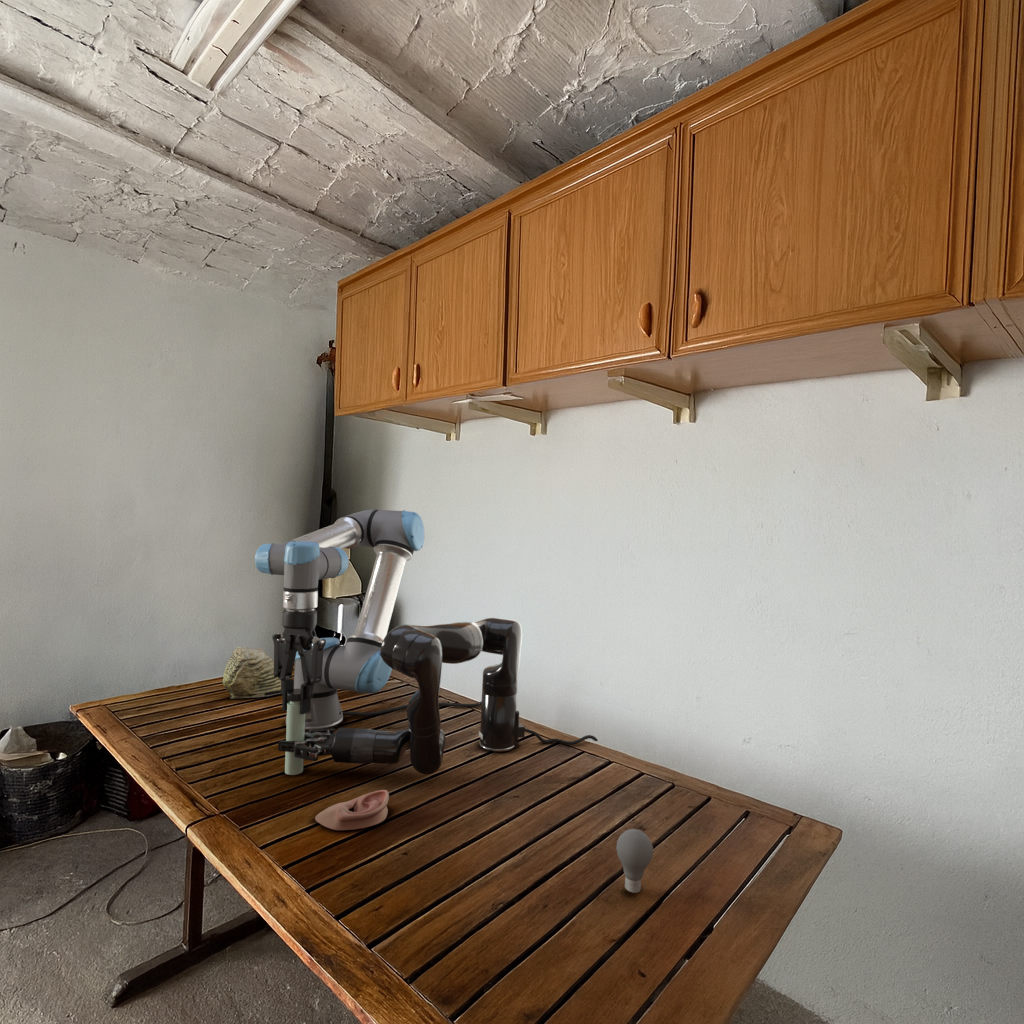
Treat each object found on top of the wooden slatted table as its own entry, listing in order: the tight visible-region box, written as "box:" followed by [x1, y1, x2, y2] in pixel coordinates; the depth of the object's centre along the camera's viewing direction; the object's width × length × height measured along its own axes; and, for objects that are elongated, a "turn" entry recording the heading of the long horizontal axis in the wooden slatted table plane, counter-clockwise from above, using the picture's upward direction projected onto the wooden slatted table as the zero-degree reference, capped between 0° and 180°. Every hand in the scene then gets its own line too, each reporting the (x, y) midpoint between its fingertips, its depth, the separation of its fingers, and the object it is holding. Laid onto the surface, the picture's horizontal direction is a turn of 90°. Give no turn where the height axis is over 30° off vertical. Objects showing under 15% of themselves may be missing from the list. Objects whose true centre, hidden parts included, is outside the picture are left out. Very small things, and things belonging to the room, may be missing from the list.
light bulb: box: [615, 828, 654, 894], centre depth 106 cm, size 6×6×10 cm
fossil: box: [222, 646, 281, 699], centre depth 198 cm, size 9×18×15 cm, turn 132°
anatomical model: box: [314, 789, 390, 831], centre depth 126 cm, size 13×4×12 cm
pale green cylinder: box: [284, 701, 305, 776], centre depth 145 cm, size 4×4×17 cm
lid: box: [287, 689, 301, 702], centre depth 145 cm, size 4×4×2 cm
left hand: (296, 710), depth 145 cm, fingers closed on lid, 4 cm apart
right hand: (283, 741), depth 145 cm, fingers closed on pale green cylinder, 4 cm apart
